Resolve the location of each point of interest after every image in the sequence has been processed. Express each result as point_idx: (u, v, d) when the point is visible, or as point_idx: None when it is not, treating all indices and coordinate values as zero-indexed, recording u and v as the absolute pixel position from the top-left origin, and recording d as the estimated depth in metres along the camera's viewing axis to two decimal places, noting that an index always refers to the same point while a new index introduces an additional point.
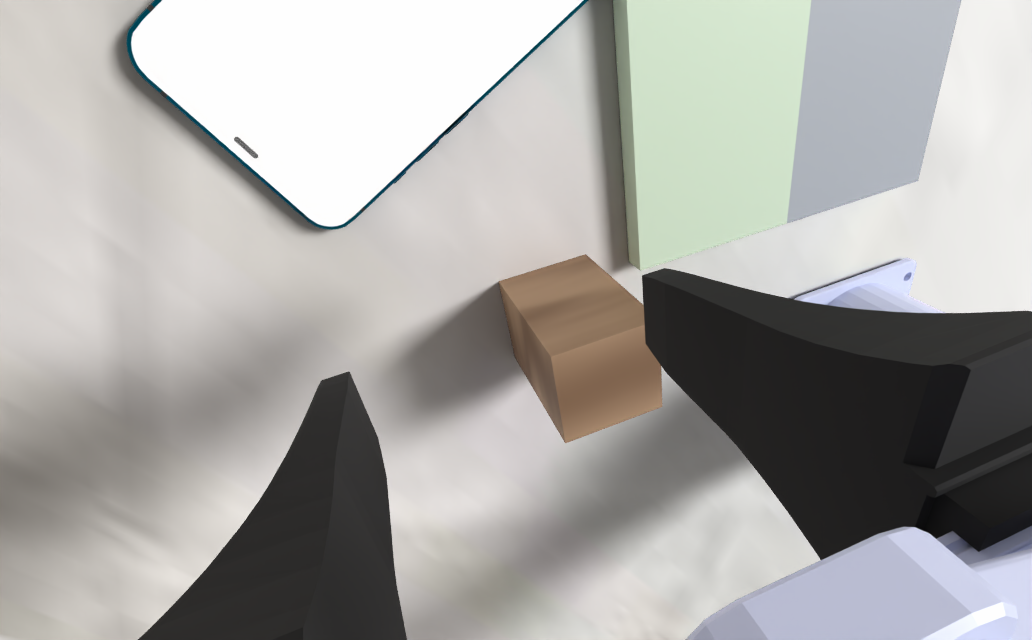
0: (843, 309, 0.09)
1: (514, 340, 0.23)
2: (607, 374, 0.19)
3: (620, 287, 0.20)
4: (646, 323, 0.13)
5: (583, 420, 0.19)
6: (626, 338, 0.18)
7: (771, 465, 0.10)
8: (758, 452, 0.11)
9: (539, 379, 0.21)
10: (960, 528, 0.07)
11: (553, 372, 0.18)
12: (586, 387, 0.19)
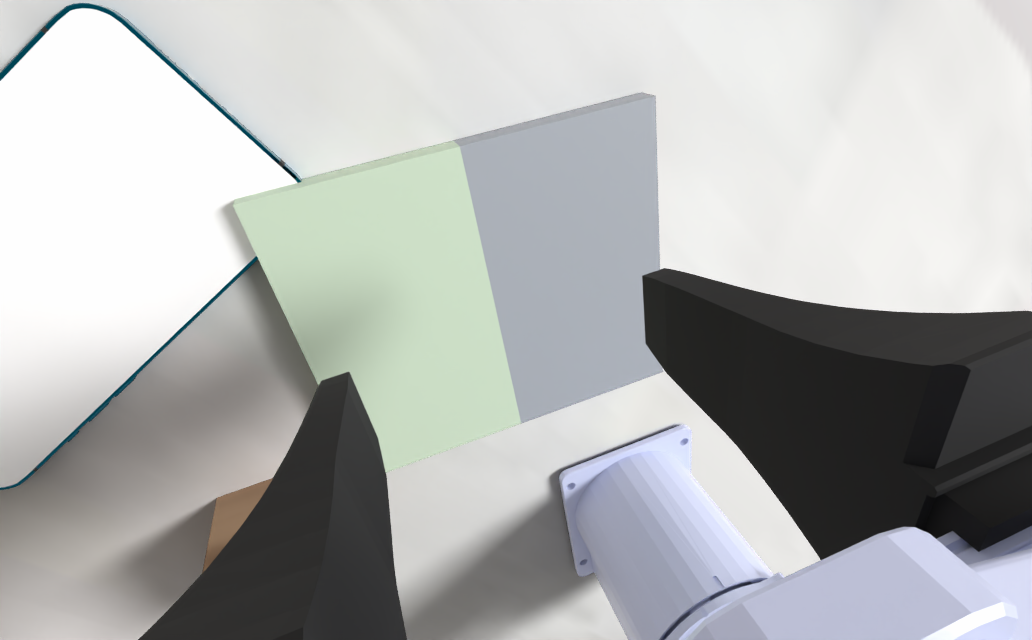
0: (843, 309, 0.09)
1: None
2: None
3: None
4: (646, 323, 0.13)
5: None
6: None
7: (771, 465, 0.10)
8: (758, 452, 0.11)
9: None
10: (959, 528, 0.07)
11: None
12: None
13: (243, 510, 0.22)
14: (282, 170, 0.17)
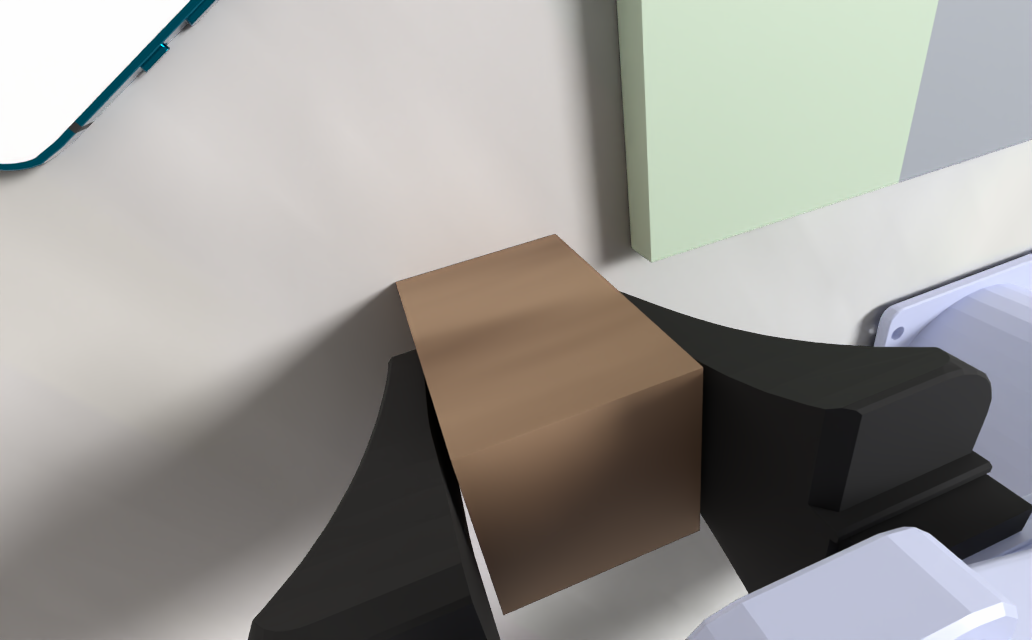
0: (765, 337, 0.09)
1: None
2: (587, 484, 0.09)
3: (616, 294, 0.10)
4: None
5: (539, 572, 0.09)
6: (628, 409, 0.08)
7: (701, 494, 0.10)
8: None
9: None
10: None
11: (462, 491, 0.08)
12: (541, 513, 0.09)
13: (460, 290, 0.12)
14: None
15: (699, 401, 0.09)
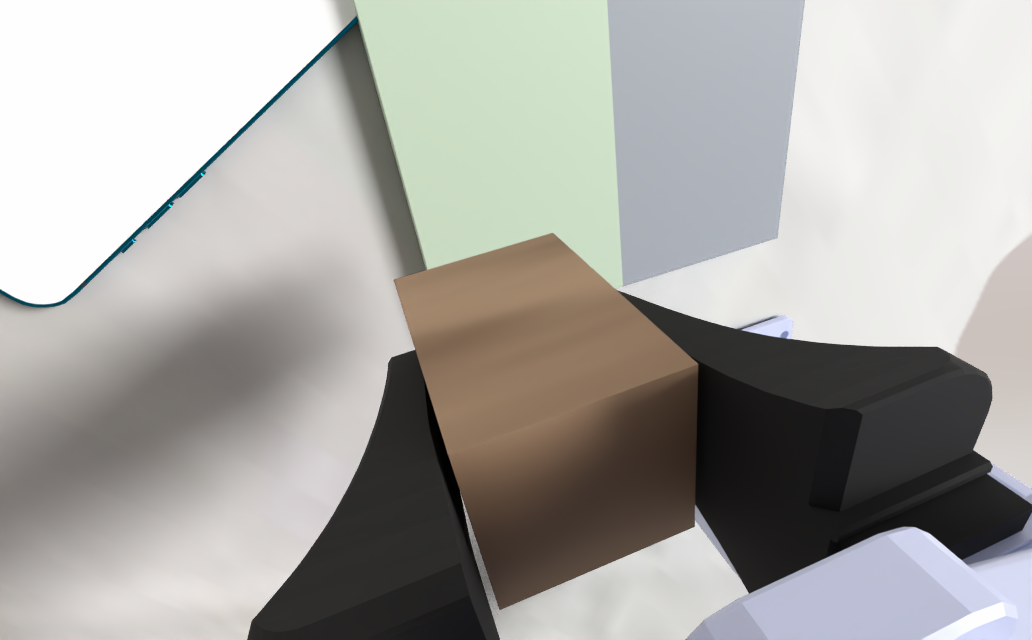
0: (766, 337, 0.09)
1: None
2: (583, 479, 0.09)
3: (613, 292, 0.10)
4: None
5: (535, 567, 0.09)
6: (624, 405, 0.08)
7: (702, 494, 0.10)
8: None
9: None
10: None
11: (459, 485, 0.08)
12: (537, 508, 0.09)
13: (458, 288, 0.12)
14: None
15: (694, 397, 0.09)
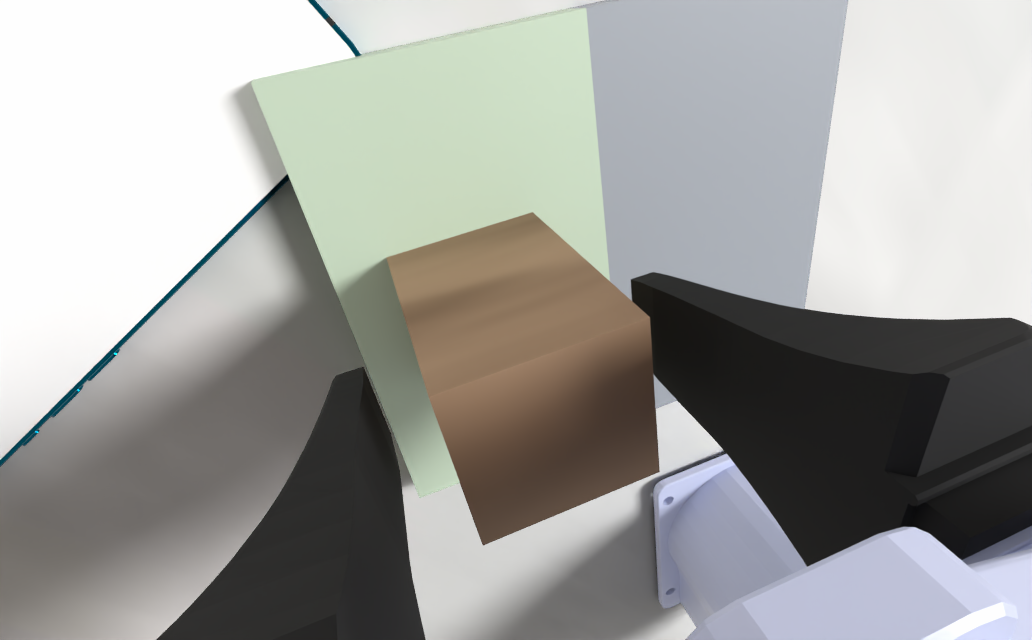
0: (828, 315, 0.09)
1: None
2: (552, 423, 0.10)
3: (582, 260, 0.11)
4: None
5: (513, 505, 0.10)
6: (584, 354, 0.09)
7: (757, 471, 0.10)
8: (745, 457, 0.11)
9: None
10: (940, 537, 0.07)
11: (440, 425, 0.09)
12: (512, 449, 0.10)
13: (443, 262, 0.13)
14: (332, 31, 0.12)
15: (649, 349, 0.10)
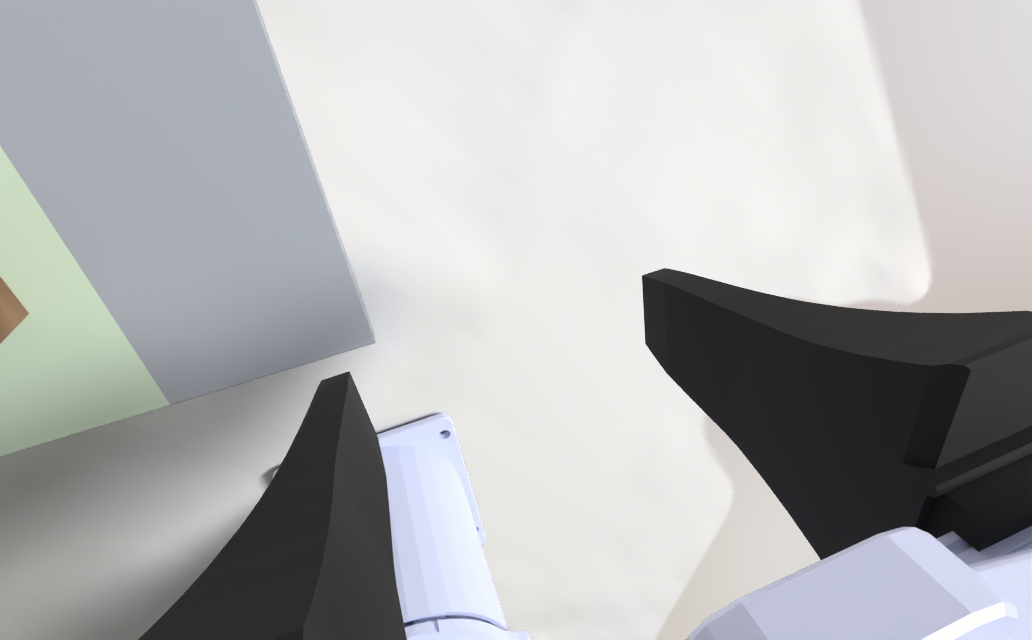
0: (843, 309, 0.09)
1: None
2: None
3: None
4: (646, 323, 0.13)
5: None
6: None
7: (771, 465, 0.10)
8: (758, 452, 0.11)
9: None
10: (959, 528, 0.07)
11: None
12: None
13: None
14: None
15: None
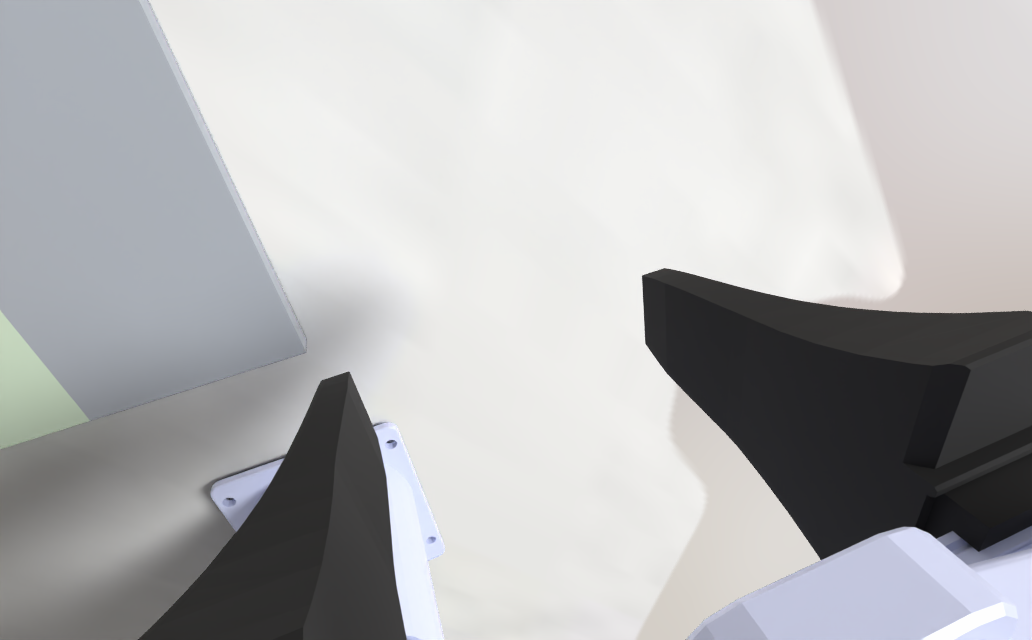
0: (843, 309, 0.09)
1: None
2: None
3: None
4: (646, 323, 0.13)
5: None
6: None
7: (771, 465, 0.10)
8: (758, 452, 0.11)
9: None
10: (960, 528, 0.07)
11: None
12: None
13: None
14: None
15: None
